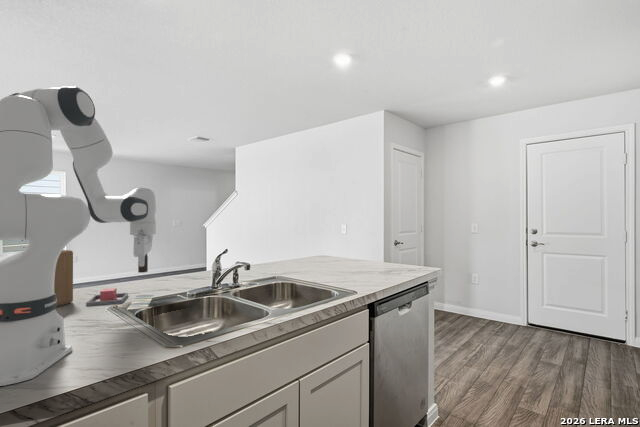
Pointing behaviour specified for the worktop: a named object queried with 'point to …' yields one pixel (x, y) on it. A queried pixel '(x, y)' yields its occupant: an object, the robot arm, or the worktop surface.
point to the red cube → (108, 294)
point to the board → (141, 301)
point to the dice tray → (91, 303)
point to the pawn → (145, 267)
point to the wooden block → (64, 278)
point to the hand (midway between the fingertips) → (142, 265)
